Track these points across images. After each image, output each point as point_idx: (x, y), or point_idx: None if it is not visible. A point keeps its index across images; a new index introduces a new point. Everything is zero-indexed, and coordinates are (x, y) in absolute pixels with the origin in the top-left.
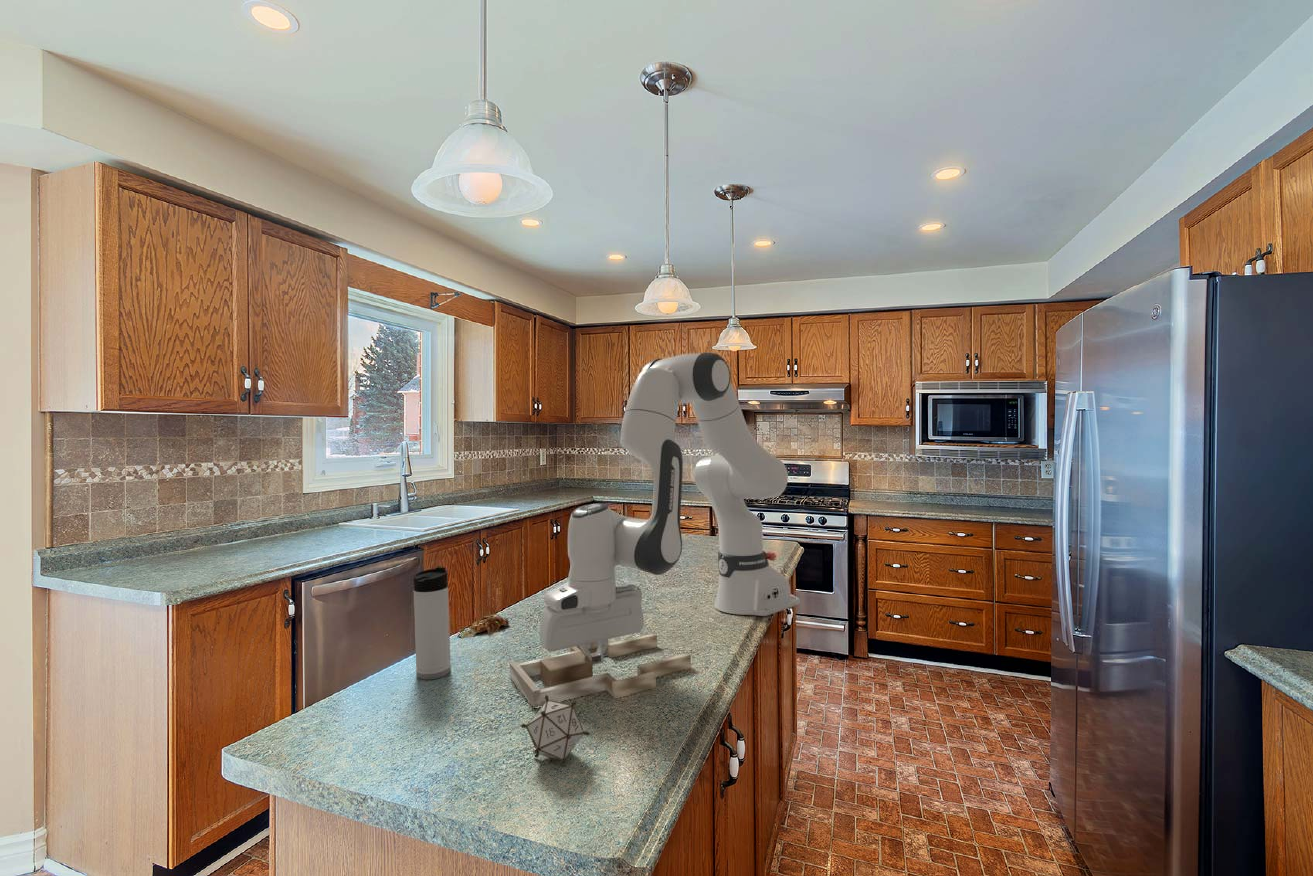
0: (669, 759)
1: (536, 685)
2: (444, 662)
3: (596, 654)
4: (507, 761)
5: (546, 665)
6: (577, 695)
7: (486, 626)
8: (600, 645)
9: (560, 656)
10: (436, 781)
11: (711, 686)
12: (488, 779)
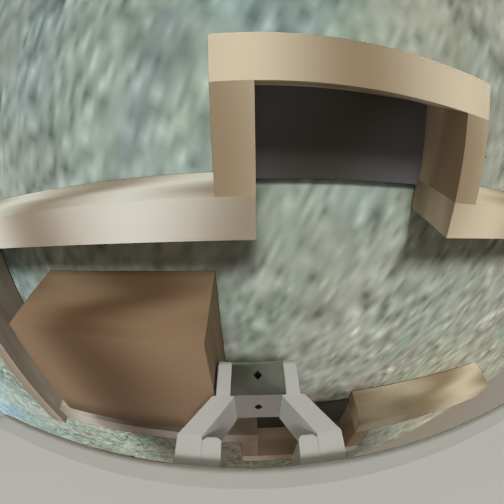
0: None
1: (51, 407)
2: None
3: (268, 408)
4: (66, 435)
5: (45, 373)
6: None
7: None
8: (305, 429)
9: (85, 342)
10: (15, 414)
11: (415, 426)
12: None
